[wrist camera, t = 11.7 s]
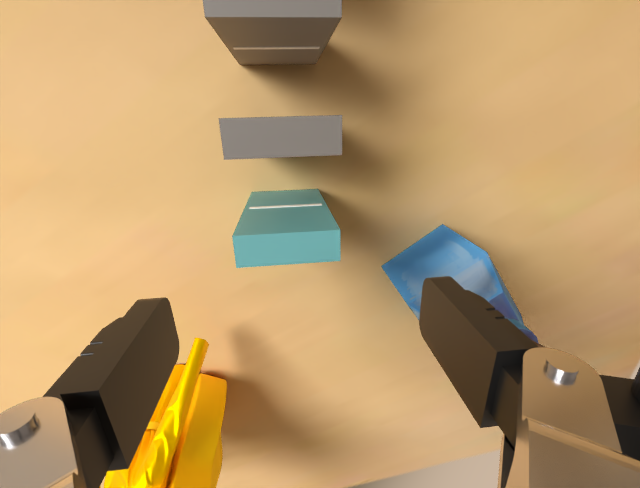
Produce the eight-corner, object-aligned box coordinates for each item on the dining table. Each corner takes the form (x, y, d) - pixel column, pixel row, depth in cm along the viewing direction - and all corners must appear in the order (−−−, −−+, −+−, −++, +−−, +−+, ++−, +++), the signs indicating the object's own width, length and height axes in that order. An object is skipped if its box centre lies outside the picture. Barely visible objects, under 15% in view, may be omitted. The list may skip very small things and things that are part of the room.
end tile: (318, 188, 24) (340, 228, 15) (318, 210, 25) (340, 261, 15) (251, 191, 24) (232, 235, 14) (254, 213, 24) (236, 268, 15)
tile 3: (314, 35, 21) (341, -38, 11) (315, 64, 21) (341, 19, 12) (236, 35, 20) (197, -41, 11) (239, 65, 21) (205, 18, 11)
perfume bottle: (472, 275, 29) (594, 373, 17) (415, 313, 29) (496, 429, 18) (442, 224, 26) (559, 297, 15) (381, 266, 27) (449, 365, 16)
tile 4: (317, 117, 22) (341, 113, 13) (317, 142, 23) (342, 156, 14) (245, 119, 22) (218, 116, 13) (248, 145, 22) (224, 160, 13)
